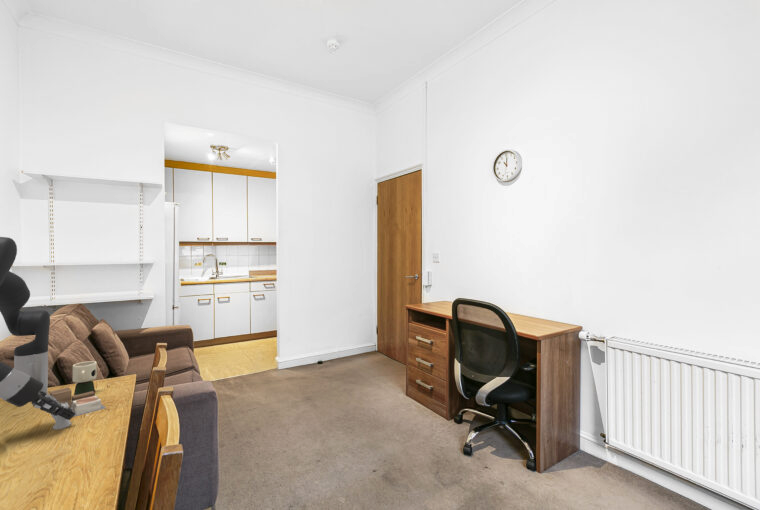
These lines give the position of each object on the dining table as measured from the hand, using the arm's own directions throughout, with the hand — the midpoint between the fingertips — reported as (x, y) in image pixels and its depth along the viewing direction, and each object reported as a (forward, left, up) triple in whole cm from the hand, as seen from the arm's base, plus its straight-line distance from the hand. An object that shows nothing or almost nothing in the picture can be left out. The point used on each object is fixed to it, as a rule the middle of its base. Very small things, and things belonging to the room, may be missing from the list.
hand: (70, 414), depth 110 cm
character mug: (-28, +9, -4) cm, 30 cm away
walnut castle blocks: (-19, +4, -3) cm, 19 cm away
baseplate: (-14, +4, -4) cm, 15 cm away
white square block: (-10, +6, -3) cm, 12 cm away
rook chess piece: (0, -2, -4) cm, 5 cm away
